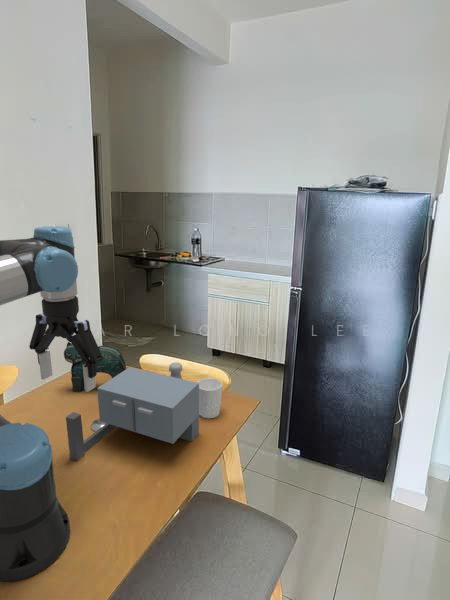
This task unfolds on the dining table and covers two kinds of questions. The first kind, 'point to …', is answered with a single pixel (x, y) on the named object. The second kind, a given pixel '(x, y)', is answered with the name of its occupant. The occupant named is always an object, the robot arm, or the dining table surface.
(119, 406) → the cabinet
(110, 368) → the ceramic cat
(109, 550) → the dining table surface
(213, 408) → the white cup
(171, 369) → the salt shaker
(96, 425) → the steel token
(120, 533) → the dining table surface
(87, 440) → the l-shaped tool
